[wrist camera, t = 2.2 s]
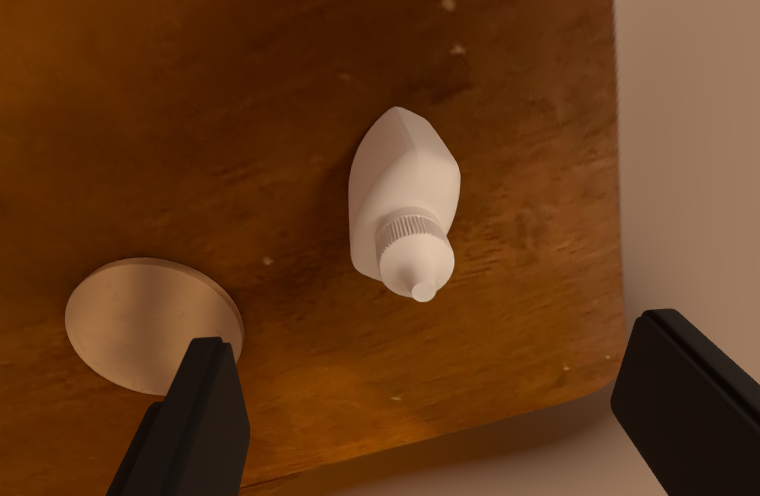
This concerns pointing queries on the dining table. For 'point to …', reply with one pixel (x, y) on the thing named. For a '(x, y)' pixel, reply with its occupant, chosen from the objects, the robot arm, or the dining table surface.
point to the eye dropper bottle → (403, 205)
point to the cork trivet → (147, 320)
